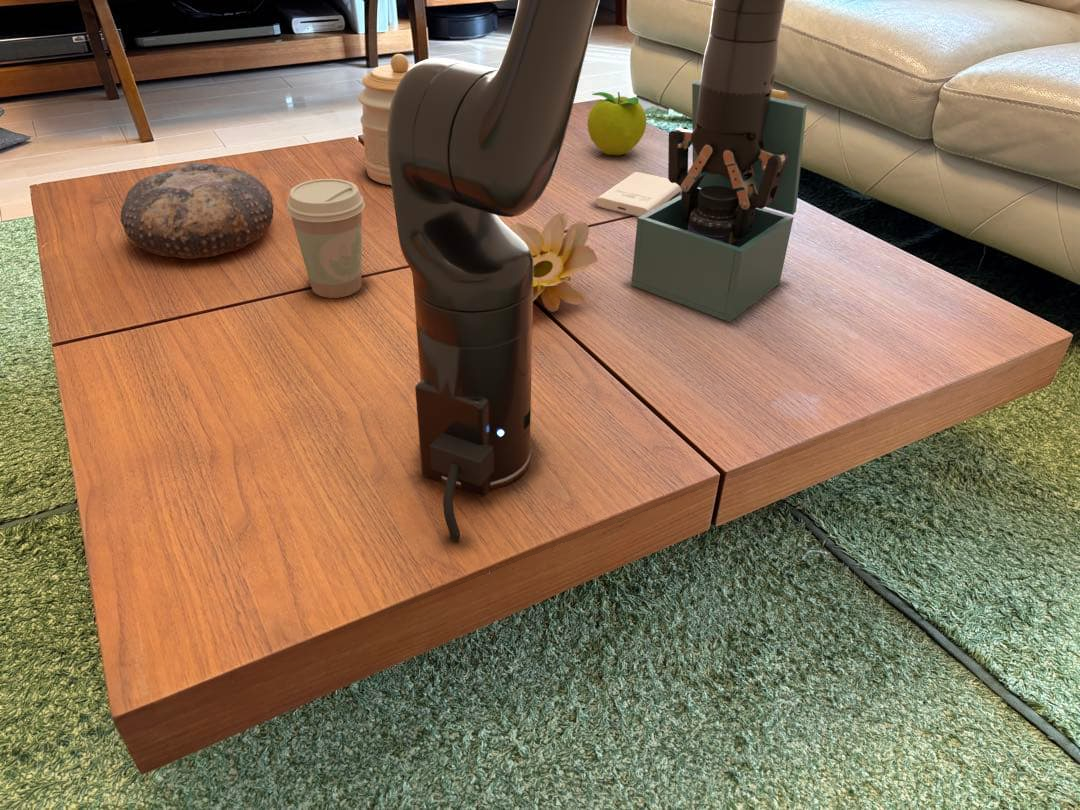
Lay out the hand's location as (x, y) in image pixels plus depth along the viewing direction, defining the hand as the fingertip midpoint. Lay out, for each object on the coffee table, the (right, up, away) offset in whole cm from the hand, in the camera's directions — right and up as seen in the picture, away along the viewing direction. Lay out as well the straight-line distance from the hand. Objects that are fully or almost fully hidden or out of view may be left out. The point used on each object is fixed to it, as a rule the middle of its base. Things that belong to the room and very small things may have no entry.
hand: (714, 228), depth 98 cm
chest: (0, -6, +4) cm, 7 cm away
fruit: (-8, +22, +43) cm, 49 cm away
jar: (-41, +16, +33) cm, 55 cm away
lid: (+3, +9, -2) cm, 9 cm away
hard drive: (-6, +10, +27) cm, 29 cm away
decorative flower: (-22, -7, +2) cm, 23 cm away
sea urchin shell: (-65, +1, +13) cm, 66 cm away
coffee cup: (-45, -7, +2) cm, 45 cm away
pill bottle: (0, -6, +4) cm, 7 cm away
